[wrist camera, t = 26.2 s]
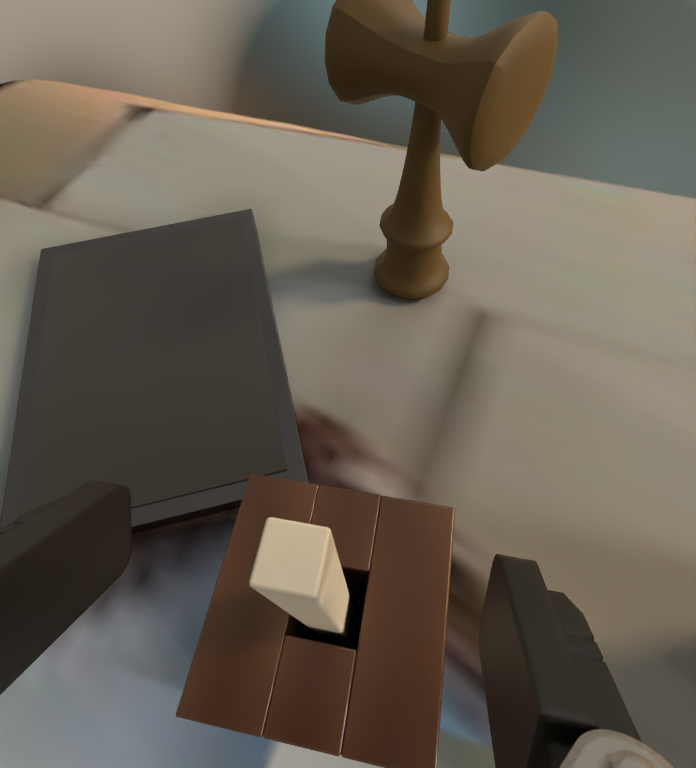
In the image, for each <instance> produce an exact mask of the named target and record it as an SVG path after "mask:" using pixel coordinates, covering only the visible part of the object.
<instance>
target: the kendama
mask: <svg viewBox="0 0 696 768" xmlns="http://www.w3.org/2000/svg"><path fill="white" fill-rule="evenodd" d="M449 11H450V0H428V2H427V11H426V19H425V18H424V17H423V16H422V14H421V13H420V12H419V11H418V9H417V8H416V6H415V4H414V3H413V1H412V0H336V2H335V3H334V5H333V7H332V11H331V15H330V19H329V23H328V27H327V31H326V41H325V64H326V70H327V75H328V80H329V84H330V86H331V87H332V89H333V91H334V92H335V94H336V96H337V98H338V99H339V100H340V101H343V102H346V103H350V104H362V103H366V102H369V101H372V100H375V99H378V98H382V97H386V96H390V95H399V96H403V97H406V98H408V99H411V100H413V101H415V108H414V115H413V122H412V128H411V133H410V139H409V144H408V149H407V154H406V159H405V164H404V169H403V173H402V178H401V182H400V186H399V190H398V193H397V196H396V199H395V202H394V204H392V205H390V206H389V207H388V208H387V209H386V210H385V211H384V213H383V214H382V216H381V220H380V228H381V230H382V232H383V234H384V236H385V238H386V239H387V249H386V250H384V251H383V253H382V254H381V255H380V256H379V257H378V258H377V260H376V263H375V267H374V274H375V276H376V279H377V281H378V283H379V284H380V285H381V286H382V287H384V288H385V289H386V290H387V291H388V292H390V293H392V294H395V295H397V296H399V297H402V298H409V299H419V298H424V297H428V296H430V295H432V294H433V293H435V292H437V291H438V290H440V289H441V287H442V286H443V285H444V283H445V282H446V281H447V279H448V273H449V265H448V263H447V262H446V260H445V258H444V256H443V255H442V250H441V246H442V244H443V243H444V242H445V241H446V240H447V239H448V237H449V236H450V235H451V234H452V229H453V221H452V220H451V218H450V217H449V215H448V214H447V212H446V211H444V210H443V206H442V199H441V185H440V127H441V119H442V120H443V122H444V124H445V125H446V127H447V129H448V131H449V132H450V135H451V137H452V139H453V141H454V143H455V145H456V147H457V149H458V151H459V153H460V155H461V157H462V159H463V161H464V162H465V164H466V165H467V167H468V168H470V169H473V170H479V171H485V170H487V169H489V168H490V167H492V166H494V165H495V164H497V163H498V162H500V161H501V160H502V159H503V158H504V157H505V156H506V155H507V154H508V153H509V152H510V151H511V150H512V149H513V148H514V147H515V146H516V144H517V143H518V142H519V140H520V139H521V137H522V136H523V134H524V133H525V131H526V130H527V128H528V127H529V125H530V123H531V121H532V119H533V117H534V115H535V113H536V111H537V109H538V108H539V106H540V104H541V101H542V99H543V96H544V93H545V91H546V88H547V85H548V82H549V80H550V77H551V74H552V69H553V65H554V60H555V56H556V51H557V21H556V20H555V19H554V18H553V17H552V16H551V15H550V13H548V12H546V11H539V12H536V13H533V14H529V15H526V16H523V17H520V18H517V19H515V20H513V21H510V22H508V23H506V24H504V25H502V26H500V27H498V28H496V29H494V30H492V31H490V32H488V33H485V34H483V35H481V36H476V37H466V36H459V35H455V34H452V33H449V32H448V22H449Z"/></svg>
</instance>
